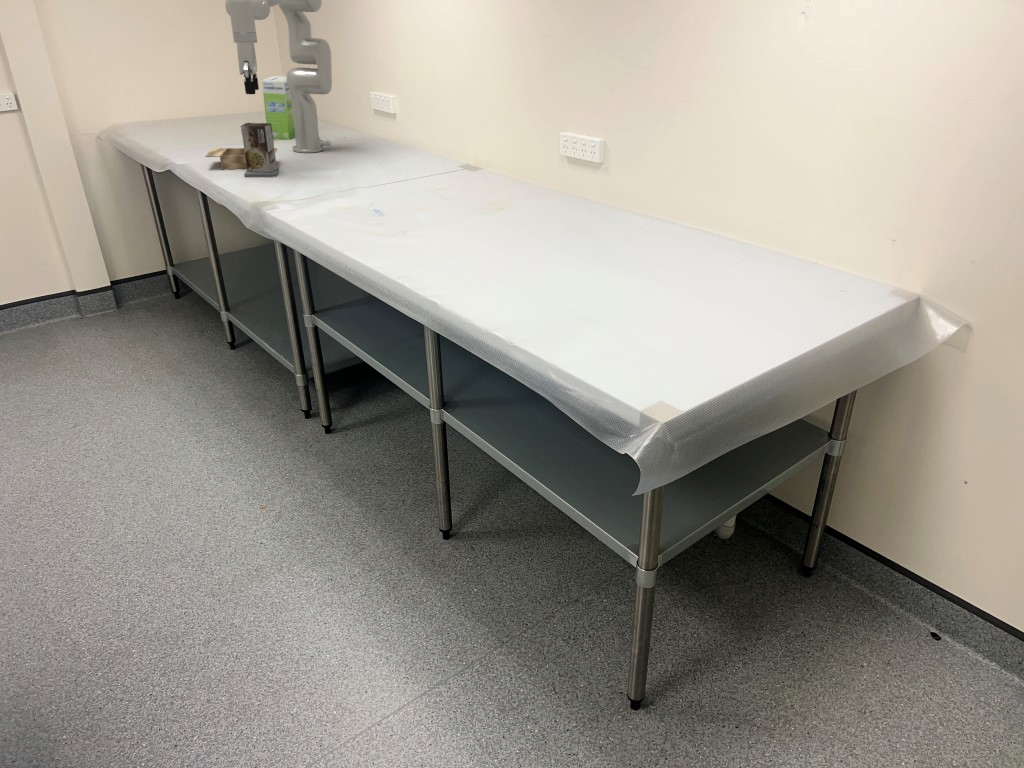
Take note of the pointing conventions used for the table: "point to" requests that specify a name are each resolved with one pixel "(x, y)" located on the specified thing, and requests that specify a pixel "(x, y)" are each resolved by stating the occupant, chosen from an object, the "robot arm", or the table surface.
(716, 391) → the table surface
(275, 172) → the mat
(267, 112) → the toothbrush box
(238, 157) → the carton
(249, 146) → the coffee box
